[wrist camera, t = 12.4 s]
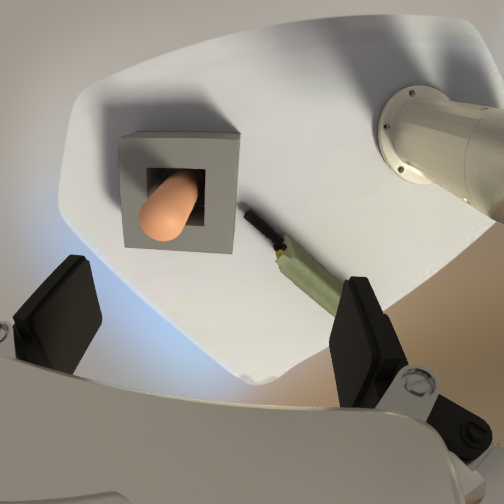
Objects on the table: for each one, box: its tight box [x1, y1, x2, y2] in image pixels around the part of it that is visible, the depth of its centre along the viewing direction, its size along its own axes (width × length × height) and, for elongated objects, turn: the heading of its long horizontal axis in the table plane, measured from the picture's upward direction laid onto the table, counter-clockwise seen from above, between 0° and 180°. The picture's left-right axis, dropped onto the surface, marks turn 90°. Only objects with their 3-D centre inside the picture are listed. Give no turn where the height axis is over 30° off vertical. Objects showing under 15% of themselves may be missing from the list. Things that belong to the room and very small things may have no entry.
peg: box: [139, 168, 204, 241], centre depth 31 cm, size 4×4×12 cm
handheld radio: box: [244, 209, 343, 317], centre depth 40 cm, size 7×3×25 cm
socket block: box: [118, 131, 241, 254], centre depth 34 cm, size 12×12×6 cm
